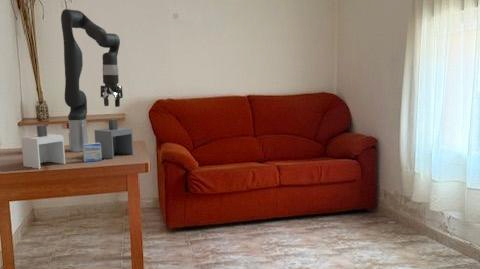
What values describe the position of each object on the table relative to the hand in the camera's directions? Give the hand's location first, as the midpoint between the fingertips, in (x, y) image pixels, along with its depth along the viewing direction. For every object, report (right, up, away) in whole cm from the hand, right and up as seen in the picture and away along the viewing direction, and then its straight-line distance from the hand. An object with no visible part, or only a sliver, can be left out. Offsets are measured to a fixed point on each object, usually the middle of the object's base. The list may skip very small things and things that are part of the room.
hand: (112, 106), depth 235 cm
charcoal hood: (0, -25, +4) cm, 25 cm away
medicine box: (-7, -27, -9) cm, 30 cm away
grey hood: (-27, -28, -17) cm, 43 cm away
